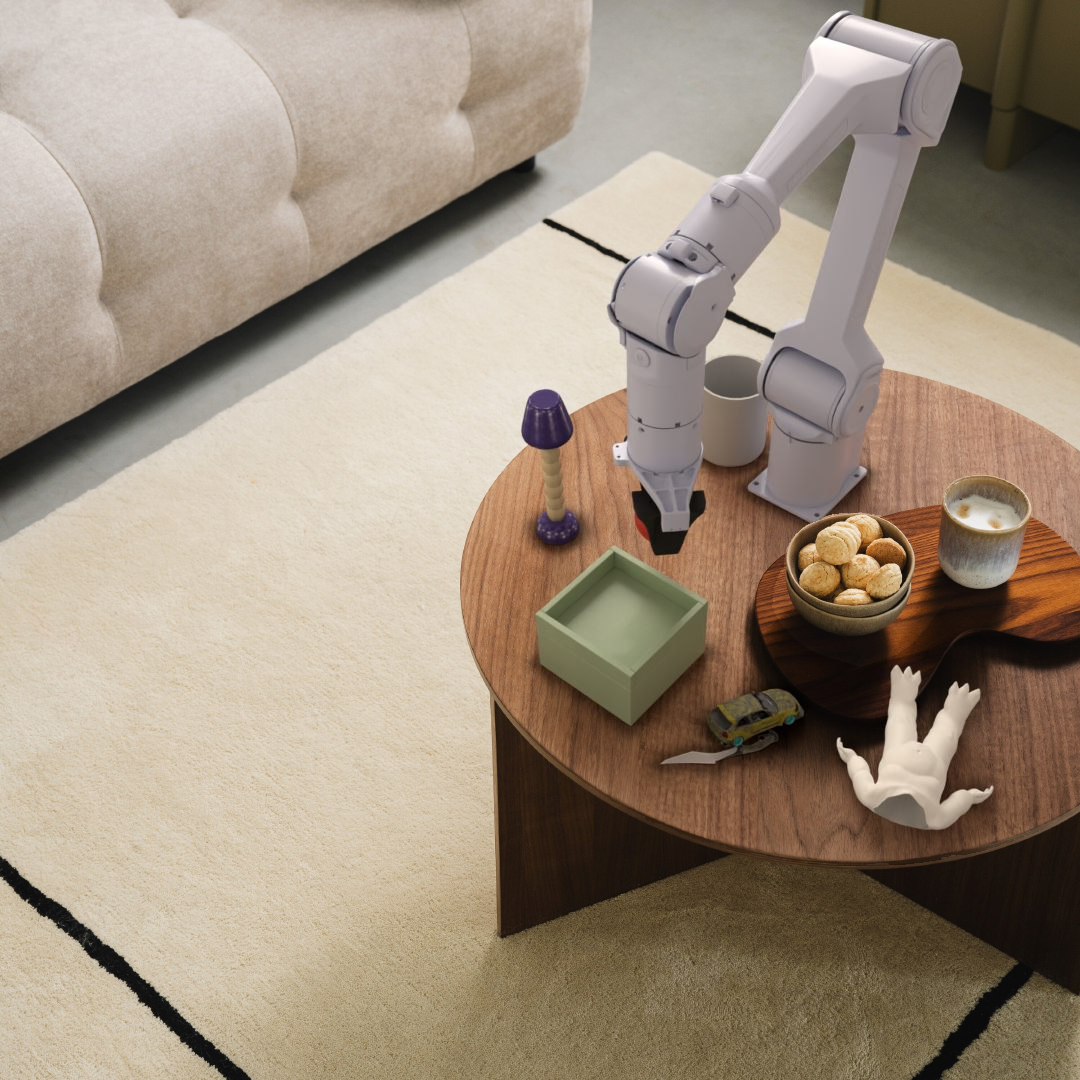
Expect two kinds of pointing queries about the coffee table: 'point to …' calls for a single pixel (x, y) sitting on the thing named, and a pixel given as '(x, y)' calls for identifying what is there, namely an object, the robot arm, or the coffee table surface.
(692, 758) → the knife
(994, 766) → the coffee table surface
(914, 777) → the toy creature
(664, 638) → the open box
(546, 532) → the toy lamp
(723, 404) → the cup
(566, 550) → the coffee table surface
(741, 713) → the race car
